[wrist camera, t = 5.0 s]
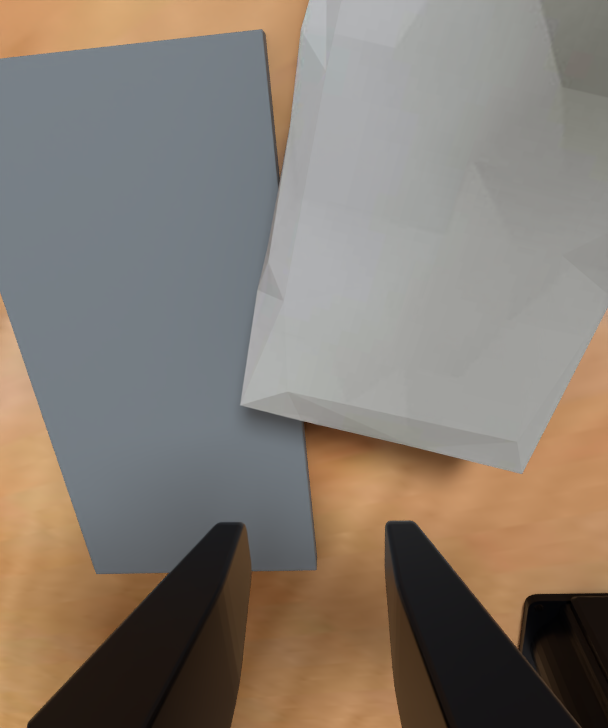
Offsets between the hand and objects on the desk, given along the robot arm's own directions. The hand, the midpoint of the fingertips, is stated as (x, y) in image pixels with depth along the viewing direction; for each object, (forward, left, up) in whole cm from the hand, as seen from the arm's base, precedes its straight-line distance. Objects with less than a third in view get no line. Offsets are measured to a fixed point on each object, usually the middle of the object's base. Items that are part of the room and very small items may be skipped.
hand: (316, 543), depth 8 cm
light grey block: (+3, -9, -10) cm, 14 cm away
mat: (-3, +7, -13) cm, 15 cm away
